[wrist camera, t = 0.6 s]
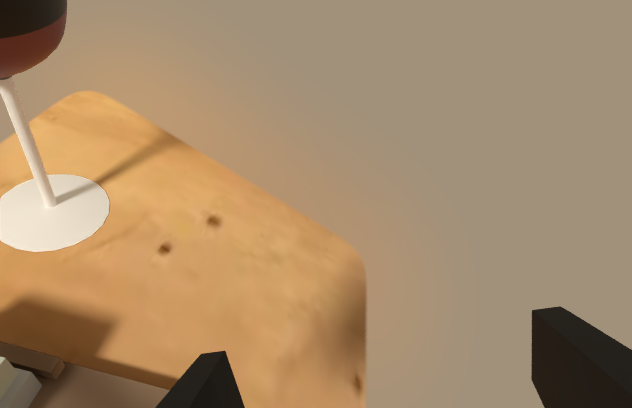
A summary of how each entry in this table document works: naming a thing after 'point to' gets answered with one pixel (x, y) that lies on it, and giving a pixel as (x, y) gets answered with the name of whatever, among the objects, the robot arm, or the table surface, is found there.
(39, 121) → the table surface
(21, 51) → the wineglass
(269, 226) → the table surface
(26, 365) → the walnut rack
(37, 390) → the offcut lower
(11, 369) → the offcut upper
